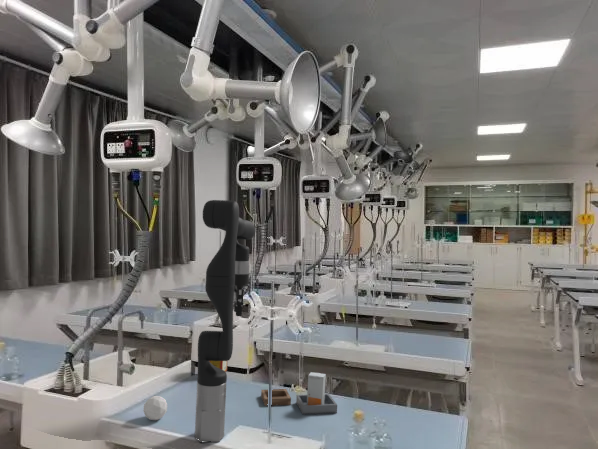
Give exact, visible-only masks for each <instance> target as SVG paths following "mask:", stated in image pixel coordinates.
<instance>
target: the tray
mask: <svg viewBox="0 0 598 449" xmlns="http://www.w3.org/2000/svg"><path fill="white" fill-rule="evenodd" d="M295 401H296V402H295V403H296V405H297V407H298V409H299V411H300V412H301V414H302V415H304V416H305V415H323V414H324V415H325V414H338V404H337V402H336V401H335V400H334V398H333V397H332V396H331V395H330V393H325V398H324V405H307V394H297V395H296V399H295Z"/></svg>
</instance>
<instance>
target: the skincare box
mask: <svg viewBox="0 0 598 449" xmlns="http://www.w3.org/2000/svg"><path fill="white" fill-rule="evenodd" d="M326 375H327V374H326V373H320V372H312V371H310V372H309V374H308V376H307V393H306V395H307V405H324V398H325V394H326V379H327V376H326Z"/></svg>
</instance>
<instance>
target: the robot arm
mask: <svg viewBox="0 0 598 449" xmlns="http://www.w3.org/2000/svg"><path fill="white" fill-rule="evenodd" d="M202 220H203V224H204V225H205V226H206V227H207V228H210V229H219V230H222V231H223V232H225V235H224V237H223V238H224V239H223V242H222V244H221V245H220V247H219V249H218V251H217V252H216V253H215V255H214V256H213V258H212V259H211V260H210V262H209V263H208V265H207V267H206V272H205V292H206V296H207V297H208V298H209V300H210V303H211V304H212V305H213V307H214V308H215V311H216V312H217V315H218V317H219V320H220V323H221V327H222V330H202V331H201V332H200V334H199V336H198V339H197V378H196V379H197V380H196V381H197V382H196V400H195V401H196V403H195V419H194V420H195V422H194V423H195V426H194V439H196V438H197V439H199V440H200V441H199V440H198V441H199V443H200V442H202V441H211V442H210V443H217V442H218V443H219V442H220V441H221V440H222V439H223V438H224V437H225V428H226V427H225V423H226V403H227V402H226V400H227V380H228V376H227V371H226V372H225V371H224V370H222V369H220V368H217V367H215V366H214V365H212V364H211V363H210V361H228V362H229V361H230V360H231V358H232V355H233V349H234V331H233V330H234V325H233V324H234V321H233V319H234V318H233V317H234V316H233V315H234V314H233V312H234V313H235V317H241V316H242V313H243V311H242V310H243V306H244V300H243V296H244V297H245V289H244V288H243V286H248V285H249V284H250V283H249V280H250V247H249V246H247V245H244V244H241V243H239V241H238V240H244V241H245V240H246V241H247V240H251V239H253V238H254V236H255V234H256V227H255V225H254V223H253V222H252V221H250V220H246V219H243V218H241V217H240V207H239V203H238V202H237V201H236V200H224V199H223V200H222V199H211V200H207V201H206V202H205V204H204V205H203V208H202ZM197 439H196V440H197ZM202 443H203V442H202Z"/></svg>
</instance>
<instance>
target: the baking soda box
mask: <svg viewBox="0 0 598 449" xmlns="http://www.w3.org/2000/svg"><path fill="white" fill-rule="evenodd" d="M210 363H211V364H212V365H214V366H215V367H217V368H220V369H222V370H224V371H225V372H226V373H227V371H228V363H229V360H228V361H210Z"/></svg>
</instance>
